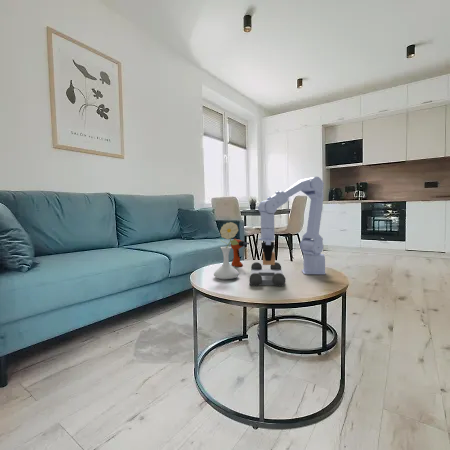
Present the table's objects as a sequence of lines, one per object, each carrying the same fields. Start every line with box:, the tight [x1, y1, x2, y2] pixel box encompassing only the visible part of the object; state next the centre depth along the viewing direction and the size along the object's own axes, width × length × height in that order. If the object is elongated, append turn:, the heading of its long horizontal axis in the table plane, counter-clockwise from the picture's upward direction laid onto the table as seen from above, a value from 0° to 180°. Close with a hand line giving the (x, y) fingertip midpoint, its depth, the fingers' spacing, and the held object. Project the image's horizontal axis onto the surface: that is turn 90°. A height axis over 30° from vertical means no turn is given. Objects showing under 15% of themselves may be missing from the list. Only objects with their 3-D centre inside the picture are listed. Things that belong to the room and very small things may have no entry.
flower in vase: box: [213, 221, 240, 280], centre depth 121 cm, size 13×11×25 cm
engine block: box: [262, 251, 276, 266], centre depth 119 cm, size 5×4×5 cm
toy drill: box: [230, 238, 250, 268], centre depth 145 cm, size 5×19×15 cm, turn 24°
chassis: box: [248, 261, 286, 287], centre depth 120 cm, size 14×24×5 cm, turn 173°
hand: (267, 259), depth 119 cm, fingers closed on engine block, 4 cm apart
